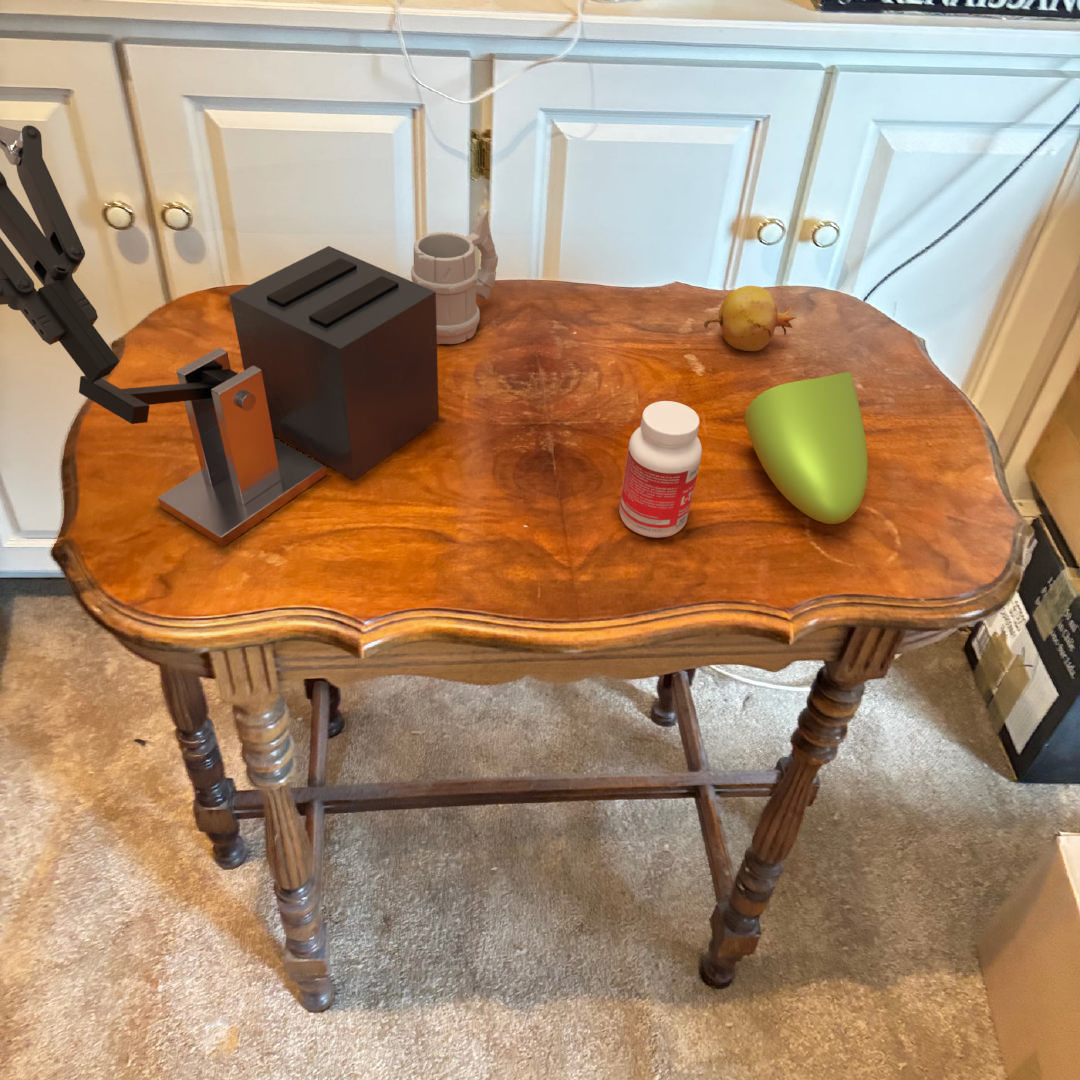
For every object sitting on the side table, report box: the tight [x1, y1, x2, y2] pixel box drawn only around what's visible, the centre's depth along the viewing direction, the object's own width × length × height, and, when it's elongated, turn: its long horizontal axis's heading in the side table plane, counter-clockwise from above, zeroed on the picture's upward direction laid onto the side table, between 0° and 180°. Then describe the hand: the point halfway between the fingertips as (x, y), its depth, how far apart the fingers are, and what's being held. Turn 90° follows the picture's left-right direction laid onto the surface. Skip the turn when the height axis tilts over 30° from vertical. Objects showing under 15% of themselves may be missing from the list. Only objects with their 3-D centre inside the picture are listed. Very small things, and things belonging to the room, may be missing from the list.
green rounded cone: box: [743, 371, 869, 525], centre depth 87 cm, size 8×12×20 cm
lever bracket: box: [157, 347, 327, 548], centre depth 79 cm, size 12×8×13 cm, turn 145°
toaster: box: [229, 245, 440, 482], centre depth 86 cm, size 12×13×14 cm
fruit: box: [703, 285, 797, 352], centre depth 104 cm, size 7×7×10 cm
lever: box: [78, 369, 239, 425], centre depth 72 cm, size 12×6×2 cm, turn 146°
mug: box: [410, 207, 499, 345], centre depth 102 cm, size 8×12×12 cm, turn 140°
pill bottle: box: [618, 400, 703, 538], centre depth 80 cm, size 6×6×11 cm
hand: (105, 372), depth 66 cm, fingers closed
